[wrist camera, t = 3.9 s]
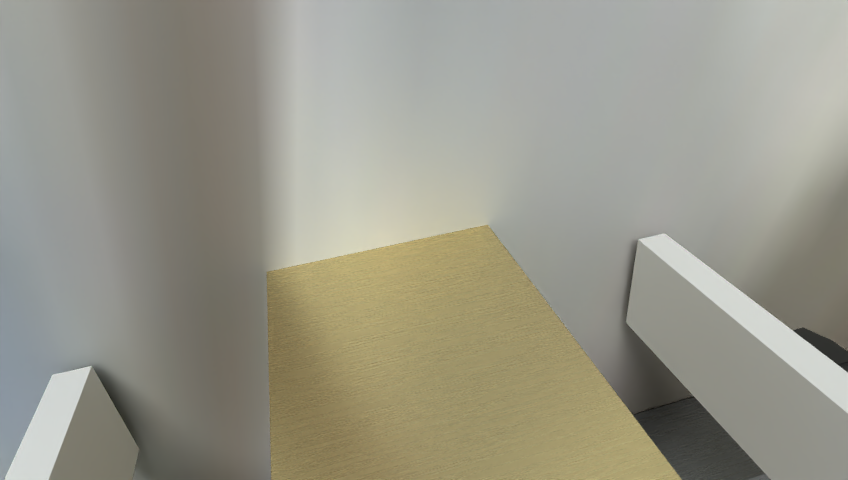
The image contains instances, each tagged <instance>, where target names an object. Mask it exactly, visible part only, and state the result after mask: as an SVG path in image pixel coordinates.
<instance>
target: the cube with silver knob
mask: <svg viewBox="0 0 848 480" xmlns="http://www.w3.org/2000/svg"><path fill="white" fill-rule="evenodd" d="M267 306H268V351H269V396H270V441H271V480H682V479H681V478H680V477H679V475H678V474H677V473H676V471H675V470H674V469H673V467H672V466H671V465H670V463H669V462H668V461H667V460H666V458H665V457H664V456H663V454H662V453H661V452H660V450H659V449H658V448H657V446H656V445H655V444H654V442H653V441H652V440H651V439H650V437H649V436H648V435H647V433H646V432H645V431H644V429H643V428H642V427H641V425H640V424H639V423H638V421H637V420H636V419H635V418H634V416H633V415H632V414H631V412H630V411H629V410H628V408H627V407H626V406H625V404H624V403H623V402H622V400H621V399H620V398H619V397H618V395H617V394H616V393H615V391H614V390H613V389H612V387H611V386H610V385H609V383H608V382H607V381H606V379H605V378H604V377H603V376H602V374H601V373H600V372H599V370H598V369H597V368H596V366H595V365H594V364H593V362H592V361H591V360H590V358H589V357H588V356H587V355H586V353H585V352H584V351H583V349H582V348H581V347H580V345H579V344H578V343H577V341H576V340H575V339H574V337H573V336H572V335H571V334H570V332H569V331H568V330H567V328H566V327H565V326H564V324H563V323H562V322H561V320H560V319H559V318H558V316H557V315H556V314H555V312H554V311H553V310H552V309H551V307H550V306H549V305H548V303H547V302H546V301H545V299H544V298H543V297H542V295H541V294H540V293H539V291H538V290H537V289H536V288H535V286H534V285H533V284H532V282H531V281H530V280H529V278H528V277H527V276H526V274H525V273H524V272H523V270H522V269H521V268H520V267H519V265H518V264H517V263H516V261H515V260H514V259H513V257H512V256H511V255H510V253H509V252H508V251H507V249H506V248H505V247H504V246H503V244H502V243H501V242H500V240H499V239H498V238H497V236H496V235H495V234H494V232H493V231H492V230H491V228H490V227H489V226H488V225H484V226H480V227H475V228H470V229H466V230H461V231H456V232H452V233H447V234H442V235H438V236H433V237H428V238H424V239H419V240H414V241H409V242H405V243H400V244H395V245H391V246H386V247H381V248H377V249H372V250H367V251H363V252H358V253H353V254H349V255H344V256H339V257H335V258H330V259H325V260H321V261H316V262H311V263H306V264H302V265H297V266H292V267H288V268H283V269H278V270H274V271H269V272H267Z"/></svg>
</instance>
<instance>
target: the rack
mask: <svg viewBox="0 0 848 480" xmlns="http://www.w3.org/2000/svg"><path fill="white" fill-rule="evenodd" d="M633 416H634V418H635V419H636V420H637V421H638V423H639V424H640V425H641V427H642V428H643V429H644V431H645V432H646V433H647V435H648V436H649V437H650V439H651V440H652V441H653V442H654V444H655V445H656V446H657V448H658V449H659V450H660V452H661V453H662V454H663V456H664V457H665V458H666V460H667V461H668V462H669V463H670V465H671V466H672V467H673V469H674V470H675V471H676V473H677V474H678V475H679V477H680V478H681V479H682V480H771V479H770V478H769V477H768V476H767V475H766V474H765V473H764V472H763V471H762V470H761V468H760V467H759V466H758V465H757V464H756V463H755V462H754V461H753V460H752V459H751V458H750V457H749V455H748V454H747V453H746V452H745V451H744V450H743V449H742V448H741V447H740V446H739V445H738V443H737V442H736V441H735V440H734V439H733V438H732V437H731V436H730V435H729V434H728V433H727V432H726V430H725V429H724V428H723V427H722V426H721V425H720V424H719V423H718V422H717V421H716V420H715V419H714V417H713V416H712V415H711V414H710V413H709V412H708V411H707V410H706V409H705V408H704V407H703V406H702V404H701V403H700V402H699V401H698V400H697V399H696V398H695V397H692V398H689V399H685V400H682V401H679V402H675V403H672V404H668V405H665V406H662V407H658V408H655V409H651V410H648V411H645V412H641V413H638V414H634V415H633Z"/></svg>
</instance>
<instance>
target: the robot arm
mask: <svg viewBox="0 0 848 480" xmlns="http://www.w3.org/2000/svg"><path fill="white" fill-rule="evenodd" d="M626 323H627V324H628V325H629V326H630V328H631V329H632V330H633V331H634V332H635V333H636V334H637V335H638V336H639V337H640V338H641V339H642V341H643V342H644V343H645V344H646V345H647V346H648V347H649V348H650V349H651V350H652V351H653V352H654V354H655V355H656V356H657V357H658V358H659V359H660V360H661V361H662V362H663V363H664V364H665V365H666V367H667V368H668V369H669V370H670V371H671V372H672V373H673V374H674V375H675V376H676V377H677V378H678V380H679V381H680V382H681V383H682V384H683V385H684V386H685V387H686V388H687V389H688V390H689V391H690V393H691V394H692V395H693V396H694V397H695V398H696V399H697V400H698V401H699V402H700V403H701V404H702V406H703V407H704V408H705V409H706V410H707V411H708V412H709V413H710V414H711V415H712V416H713V417H714V419H715V420H716V421H717V422H718V423H719V424H720V425H721V426H722V427H723V428H724V429H725V430H726V432H727V433H728V434H729V435H730V436H731V437H732V438H733V439H734V440H735V441H736V442H737V443H738V445H739V446H740V447H741V448H742V449H743V450H744V451H745V452H746V453H747V454H748V455H749V457H750V458H751V459H752V460H753V461H754V462H755V463H756V464H757V465H758V466H759V467H760V468H761V470H762V471H763V472H764V473H765V474H766V475H767V476H768V477H769V478H770V479H771V480H848V352H847V351H846V350H844V349H843V348H842V347H840V346H839V345H838V344H836V343H835V342H833V341H832V340H830V339H827V338H825V337H823V336H821V335H818V334H816V333H814V332H812V331H810V330H807V329H805V328H800V329H796V330H791V329H790V328H789V327H787V326H786V325H785V324H783V323H782V322H781V321H779V320H778V319H777V318H775V317H774V316H773V315H771V314H770V313H769V312H768V311H766V310H765V309H764V308H762V307H761V306H760V305H758V304H757V303H756V302H754V301H753V300H752V299H750V298H749V297H748V296H746V295H745V294H744V293H743V292H741V291H740V290H739V289H737V288H736V287H735V286H733V285H732V284H731V283H729V282H728V281H727V280H725V279H724V278H723V277H721V276H720V275H719V274H718V273H716V272H715V271H714V270H712V269H711V268H710V267H708V266H707V265H706V264H704V263H703V262H702V261H700V260H699V259H698V258H696V257H695V256H694V255H693V254H691V253H690V252H689V251H687V250H686V249H685V248H683V247H682V246H681V245H679V244H678V243H677V242H675V241H674V240H673V239H671V238H670V237H669V236H668V235H666V234H665V233H664V234H660V235H655V236H651V237H647V238H642V239H638V243H637V250H636V257H635V264H634V271H633V277H632V284H631V291H630V298H629V304H628V311H627V318H626ZM138 453H139V448H138V446H137V444H136V443H135V441H134V439H133V437H132V436H131V434H130V432H129V430H128V429H127V427H126V425H125V423H124V421H123V420H122V418H121V416H120V414H119V413H118V411H117V409H116V407H115V406H114V404H113V402H112V400H111V399H110V397H109V395H108V393H107V392H106V390H105V388H104V386H103V385H102V383H101V381H100V379H99V378H98V376H97V374H96V372H95V371H94V369H93V367H92V366H89V367H84V368H80V369H76V370H71V371H67V372H63V373H58V374H54V375H52V377H51V379H50V381H49V384H48V386H47V388H46V390H45V392H44V394H43V397H42V399H41V401H40V403H39V405H38V407H37V410H36V412H35V414H34V416H33V418H32V421H31V423H30V425H29V427H28V429H27V431H26V434H25V436H24V438H23V440H22V442H21V444H20V447H19V449H18V451H17V453H16V455H15V458H14V460H13V462H12V464H11V466H10V468H9V471H8V473H7V475H6V477H5V479H4V480H132V479H133V475H134V471H135V466H136V462H137V457H138Z"/></svg>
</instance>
